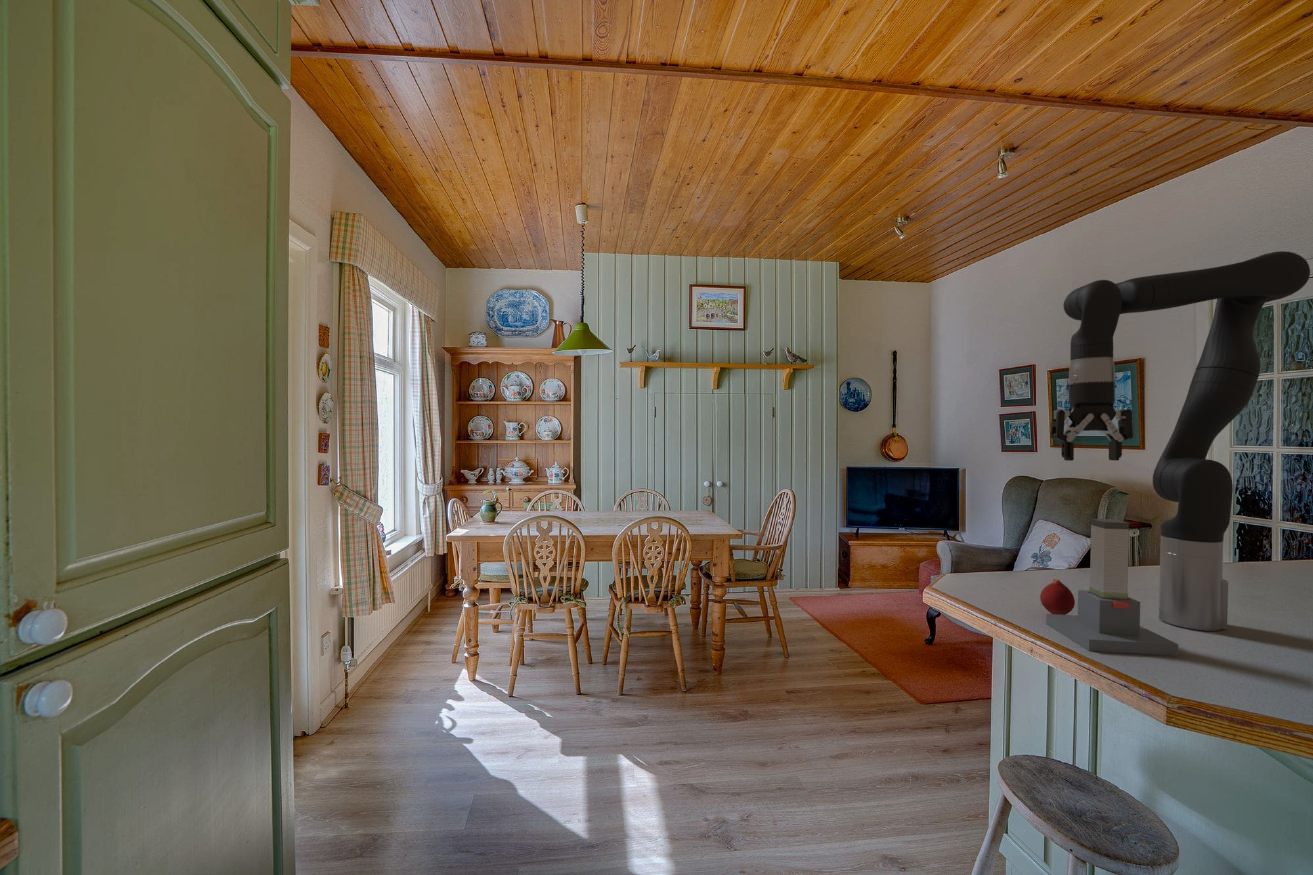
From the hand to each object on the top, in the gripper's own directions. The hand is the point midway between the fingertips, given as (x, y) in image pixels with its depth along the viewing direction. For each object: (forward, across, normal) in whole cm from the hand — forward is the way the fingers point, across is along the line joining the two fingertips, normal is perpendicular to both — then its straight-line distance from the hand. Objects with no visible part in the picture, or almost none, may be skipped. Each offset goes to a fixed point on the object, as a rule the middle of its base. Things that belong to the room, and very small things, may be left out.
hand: (1091, 460), depth 118 cm
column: (+25, +4, +12) cm, 28 cm away
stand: (+32, +4, +12) cm, 35 cm away
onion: (+33, +7, 0) cm, 33 cm away
